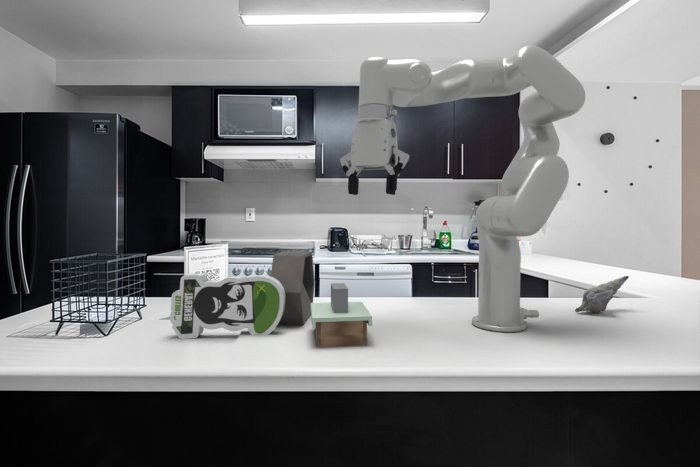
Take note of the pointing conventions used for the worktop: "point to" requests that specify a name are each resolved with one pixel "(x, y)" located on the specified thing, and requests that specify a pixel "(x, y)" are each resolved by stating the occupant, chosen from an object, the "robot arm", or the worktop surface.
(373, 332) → the worktop surface
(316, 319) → the lid
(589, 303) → the seashell
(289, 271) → the planter
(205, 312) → the cutout
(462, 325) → the worktop surface
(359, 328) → the wooden box
